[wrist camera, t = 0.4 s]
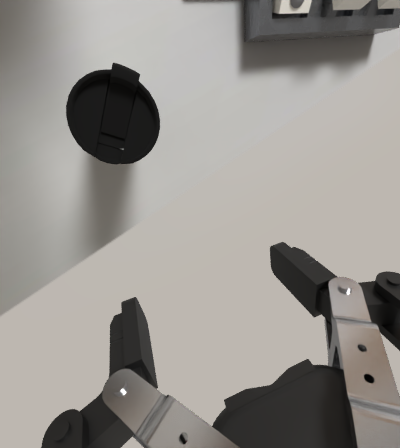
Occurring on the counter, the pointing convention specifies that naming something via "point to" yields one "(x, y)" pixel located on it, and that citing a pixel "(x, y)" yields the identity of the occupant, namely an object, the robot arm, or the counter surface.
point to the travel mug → (113, 115)
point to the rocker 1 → (291, 6)
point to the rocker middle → (349, 4)
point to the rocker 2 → (388, 4)
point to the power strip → (316, 21)
